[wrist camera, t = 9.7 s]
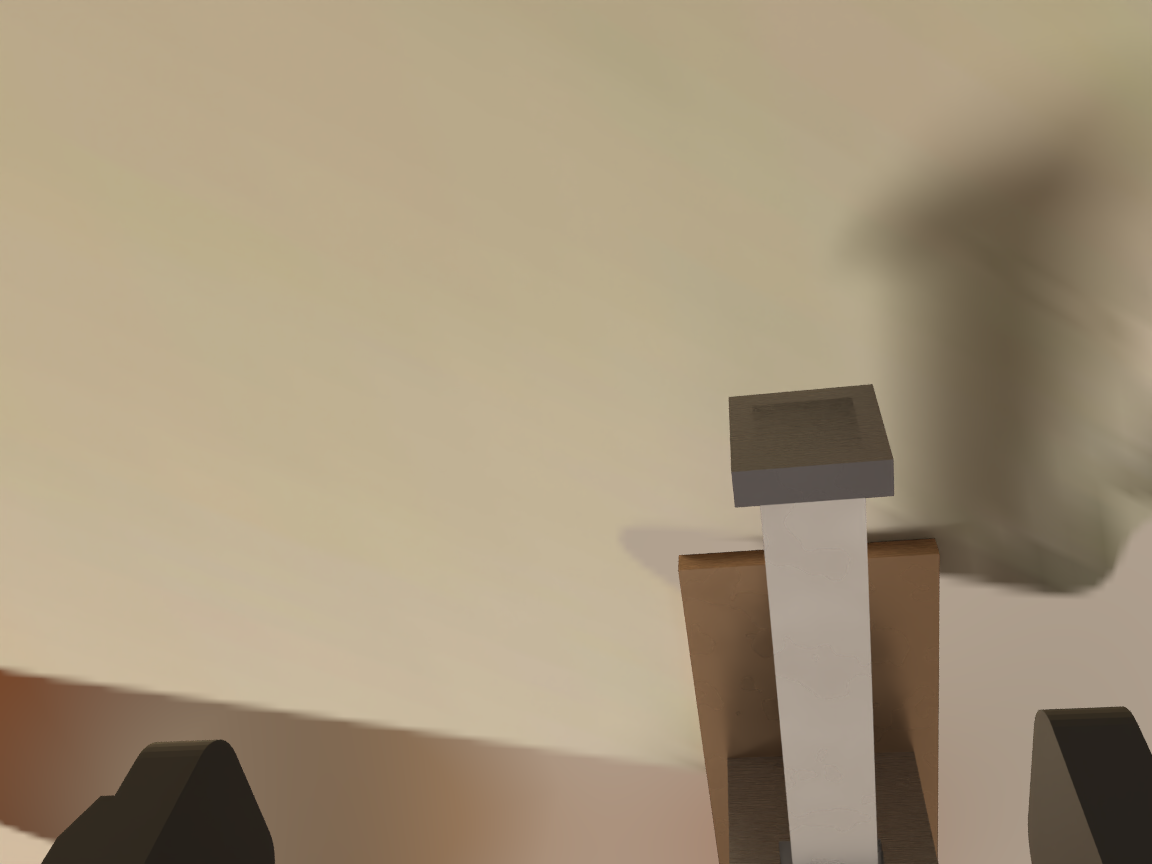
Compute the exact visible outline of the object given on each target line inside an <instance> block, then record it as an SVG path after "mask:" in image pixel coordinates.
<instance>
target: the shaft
mask: <svg viewBox="0 0 1152 864" xmlns="http://www.w3.org/2000/svg"><path fill="white" fill-rule="evenodd" d="M729 419H730V446H731V473H732V482H733V492H734V502H735V507H748V506H760V510H761V521H762V532H763V543H764V554H765V565H766V576H767V587H768V598H769V609H770V620H771V631H772V642H773V653H774V664H775V675H776V686H777V697H778V708H779V719H780V730H781V741H782V752H783V763H784V774H785V785H786V796H787V807H788V818H789V829H790V840H791V851H792V862H793V864H878V852H877V822H876V793H875V763H874V733H873V703H872V673H871V644H870V614H869V584H868V554H867V524H866V498H872V497H886V496H894V464H893V456H892V453H891V449H890V445H889V442H888V438H887V435H886V431H885V428H884V424H883V420H882V417H881V413H880V410H879V406H878V403H877V399H876V395H875V392H874V388H873V385H872V384H870V385H859V386H848V387H837V388H826V389H814V390H803V391H792V392H781V393H770V394H759V395H747V396H736V397H729Z"/></svg>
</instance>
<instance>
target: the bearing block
mask: <svg viewBox="0 0 1152 864" xmlns="http://www.w3.org/2000/svg"><path fill="white" fill-rule="evenodd" d="M867 554H868V584H869V614H870V644H871V673H872V703H873V733H874V763H875V793H876V822H877V852H878V864H938V712H939V711H938V709H939V708H938V707H939V559H940V554H939V550H938V547H937V544H936V541H935V539H919V540H904V541H889V542H874V543H867ZM678 572H679V579H680V586H681V594H682V601H683V608H684V615H685V622H686V629H687V636H688V644H689V651H690V658H691V665H692V672H693V679H694V686H695V694H696V701H697V708H698V715H699V722H700V729H701V736H702V744H703V751H704V758H705V765H706V772H707V778H708V786H709V794H710V800H711V808H712V815H713V822H714V829H715V836H716V843H717V850H718V858H719V864H793V862H792V851H791V840H790V829H789V818H788V807H787V796H786V785H785V774H784V763H783V752H782V741H781V730H780V719H779V708H778V697H777V686H776V675H775V664H774V653H773V642H772V631H771V620H770V609H769V598H768V587H767V576H766V565H765V554H764V550H752V551H737V552H723V553H707V554H692V555H679V565H678Z"/></svg>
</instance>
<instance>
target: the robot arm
mask: <svg viewBox="0 0 1152 864" xmlns="http://www.w3.org/2000/svg"><path fill="white" fill-rule="evenodd" d="M1028 836H1029V847H1030V854H1031V861H1032V864H1152V754H1151V752H1150V750H1149V748H1148V745H1147V743H1146V741H1145V739H1144V737H1143V735H1142V732H1141V730H1140V728H1139V726H1138V724H1137V722H1136V720H1135V718H1134V716H1133V715H1132V713H1131V712H1130V711H1129V710H1128V709H1127V708H1126V707H1101V708H1077V709H1076V708H1075V709H1049V710H1039V711H1038V712H1037V714H1036V717H1035V723H1034V736H1033V751H1032V768H1031V782H1030V797H1029V813H1028ZM274 857H275V856H274V846H273V842H272V837H271V835H270V832H269V830H268V827H267V825H266V823H265V820H264V818H263V816H262V813H261V811H260V809H259V806H258V804H257V802H256V800H255V797H254V795H253V793H252V790H251V788H250V786H249V783H248V781H247V779H246V776H245V774H244V772H243V770H242V767H241V765H240V763H239V760H238V758H237V756H236V753H235V752H234V750H233V748H232V747H231V746H230V744H229V743H227V742H226V741H224V740H202V741H177V742H155V743H152V744H150V745H148V746H147V747H146V748H145V749H144V750H143V751H142V752H141V753H140V754H139V756H138V758H137V759H136V761H135V762H134V764H133V766H132V768H131V769H130V771H129V773H128V774H127V776H126V778H125V779H124V781H123V783H122V784H121V786H120V788H119V790H118V791H117V793H116V794H115V796H100V797H99V798H98V799H97V800H96V801H95V802H94V803H93V804H92V805H91V806H90V807H89V808H88V809H87V810H86V811H85V812H84V813H83V814H82V815H80V816H79V817H78V818H77V819H76V820H75V821H74V822H73V823H72V824H71V825H70V826H69V827H68V828H67V829H66V830H65V831H64V832H63V833H62V834H61V835H60V836H59V837H57V839H56V841H55V842H54V844H53V845H52V847H51V849H50V850H49V852H48V853H47V855H46V857H45V858H44V860H43V861H42V863H41V864H275V858H274Z"/></svg>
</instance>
